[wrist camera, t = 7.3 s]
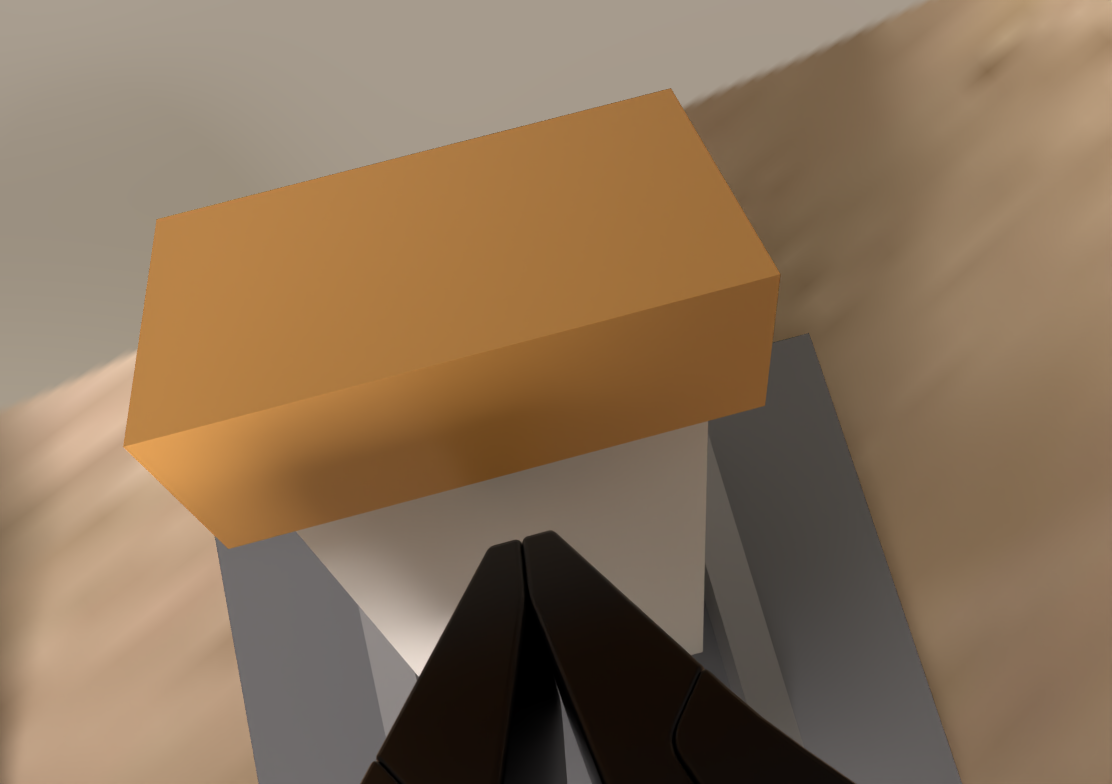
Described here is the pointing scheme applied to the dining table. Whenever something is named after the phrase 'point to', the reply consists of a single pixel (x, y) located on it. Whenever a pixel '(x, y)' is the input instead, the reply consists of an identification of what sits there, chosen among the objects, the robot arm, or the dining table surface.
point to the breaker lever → (464, 361)
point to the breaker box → (728, 625)
